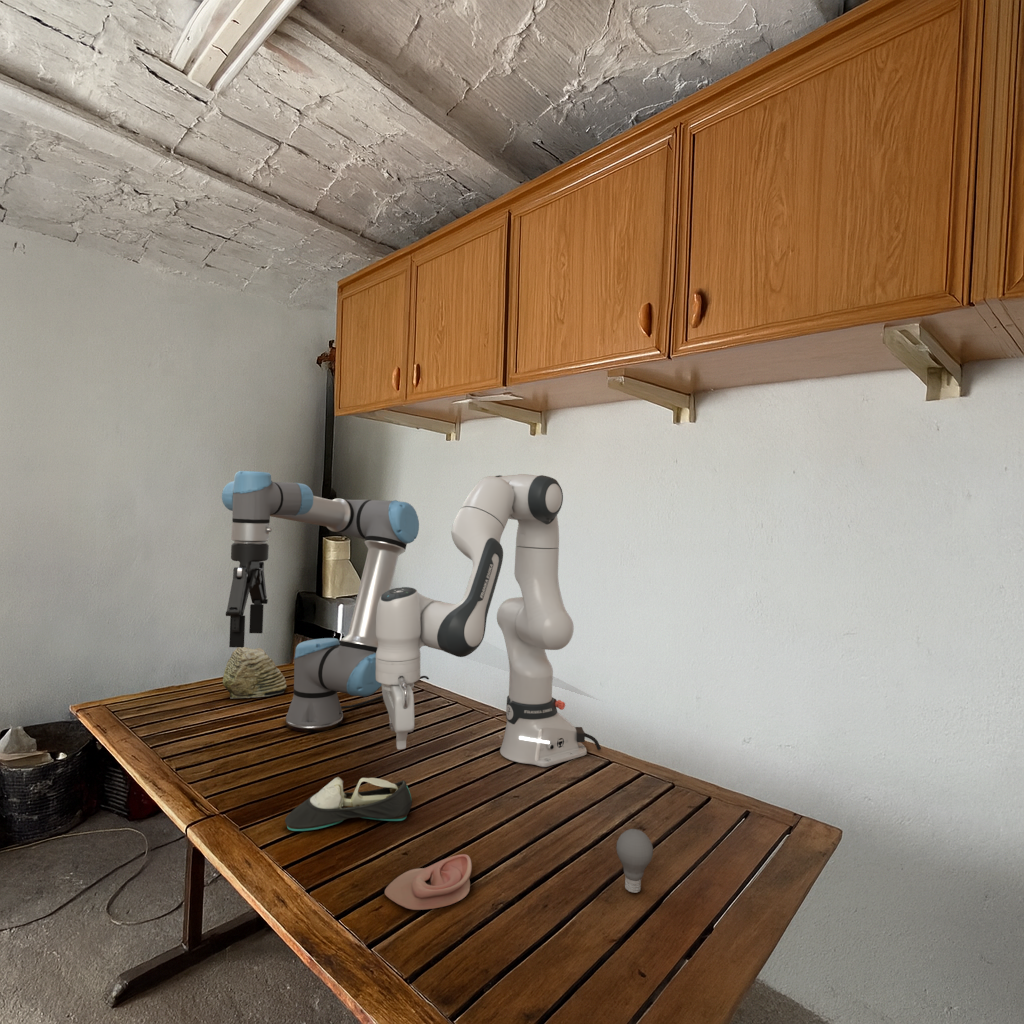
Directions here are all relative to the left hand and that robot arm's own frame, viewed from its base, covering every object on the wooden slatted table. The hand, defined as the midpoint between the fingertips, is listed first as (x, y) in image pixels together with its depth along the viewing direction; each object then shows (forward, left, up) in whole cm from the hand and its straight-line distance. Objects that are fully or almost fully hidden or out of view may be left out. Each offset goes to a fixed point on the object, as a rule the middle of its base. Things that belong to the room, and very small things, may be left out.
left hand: (246, 639), depth 138 cm
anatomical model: (-1, +57, -31) cm, 65 cm away
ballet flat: (-6, +30, -31) cm, 44 cm away
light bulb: (-24, +82, -31) cm, 91 cm away
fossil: (-33, -54, -31) cm, 71 cm away
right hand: (-13, +35, -16) cm, 41 cm away
